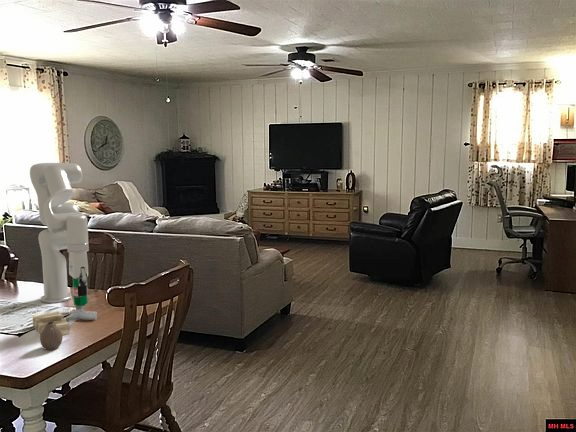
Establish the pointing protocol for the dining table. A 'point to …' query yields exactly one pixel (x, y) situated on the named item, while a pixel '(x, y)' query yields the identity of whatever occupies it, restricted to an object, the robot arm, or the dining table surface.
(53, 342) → the brown egg-shaped piece
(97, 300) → the dining table surface
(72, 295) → the lightbulb
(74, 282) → the soda can
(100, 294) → the dining table surface
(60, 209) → the robot arm
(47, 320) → the bore beam
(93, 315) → the grey angled tube
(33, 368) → the dining table surface
